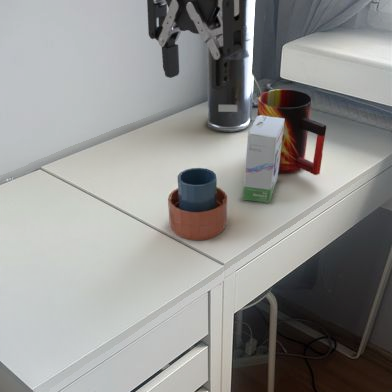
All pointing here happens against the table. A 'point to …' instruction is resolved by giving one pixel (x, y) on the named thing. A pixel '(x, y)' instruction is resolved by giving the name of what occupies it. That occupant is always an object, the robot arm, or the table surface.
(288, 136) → the mug
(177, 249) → the table surface
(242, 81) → the robot arm
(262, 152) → the ink box
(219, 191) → the bowl
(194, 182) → the cup
